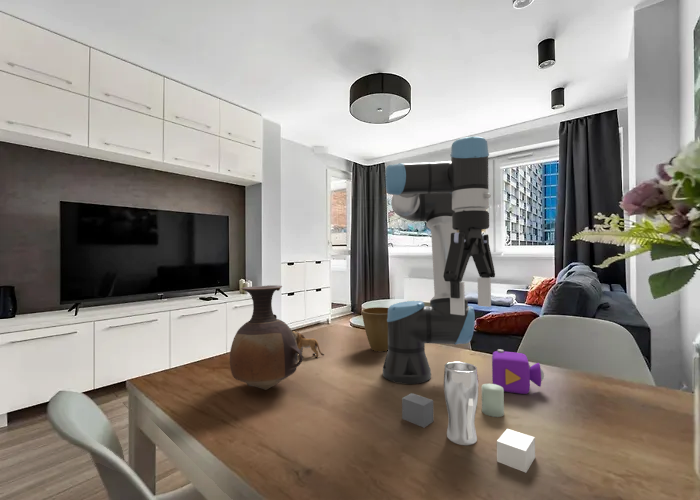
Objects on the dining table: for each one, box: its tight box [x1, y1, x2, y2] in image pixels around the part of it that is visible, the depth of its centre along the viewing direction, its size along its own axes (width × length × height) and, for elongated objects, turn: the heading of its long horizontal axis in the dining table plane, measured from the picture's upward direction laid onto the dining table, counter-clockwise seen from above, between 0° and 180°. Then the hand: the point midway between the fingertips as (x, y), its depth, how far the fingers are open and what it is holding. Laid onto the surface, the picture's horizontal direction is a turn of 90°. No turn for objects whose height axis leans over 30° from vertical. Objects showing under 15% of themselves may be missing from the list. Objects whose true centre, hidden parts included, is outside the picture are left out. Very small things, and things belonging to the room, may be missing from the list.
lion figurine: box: [292, 330, 325, 358], centre depth 132 cm, size 15×5×9 cm, turn 73°
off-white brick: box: [496, 428, 536, 474], centre depth 64 cm, size 6×5×4 cm
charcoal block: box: [401, 392, 435, 428], centre depth 80 cm, size 6×4×5 cm, turn 45°
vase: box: [229, 284, 304, 391], centre depth 100 cm, size 23×19×30 cm
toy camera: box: [491, 348, 545, 395], centre depth 98 cm, size 11×14×10 cm
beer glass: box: [443, 361, 479, 446], centre depth 72 cm, size 7×7×15 cm
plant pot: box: [361, 306, 389, 352], centre depth 139 cm, size 15×15×16 cm
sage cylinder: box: [480, 383, 505, 418], centre depth 83 cm, size 5×5×6 cm
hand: (471, 310), depth 73 cm, fingers open, 13 cm apart
